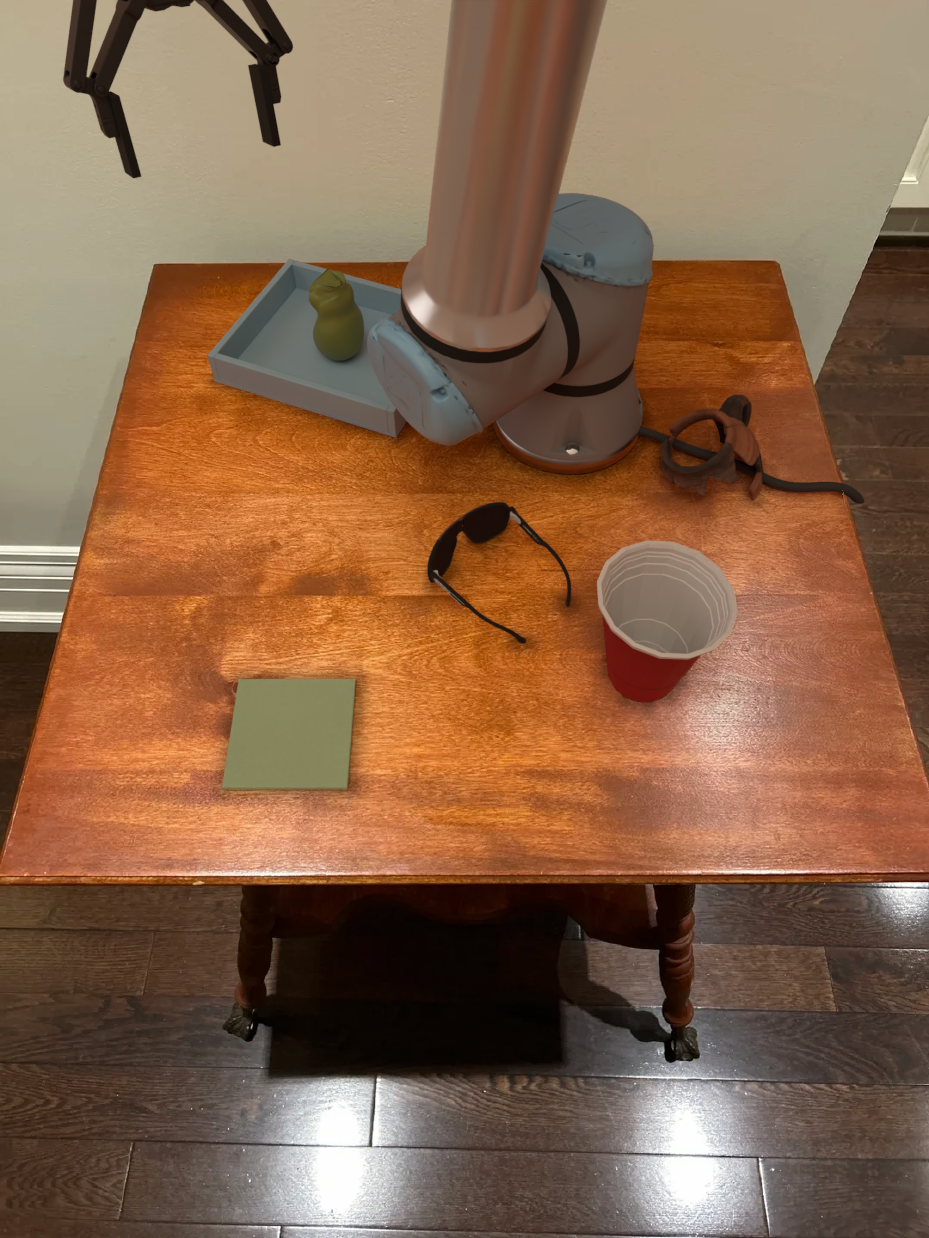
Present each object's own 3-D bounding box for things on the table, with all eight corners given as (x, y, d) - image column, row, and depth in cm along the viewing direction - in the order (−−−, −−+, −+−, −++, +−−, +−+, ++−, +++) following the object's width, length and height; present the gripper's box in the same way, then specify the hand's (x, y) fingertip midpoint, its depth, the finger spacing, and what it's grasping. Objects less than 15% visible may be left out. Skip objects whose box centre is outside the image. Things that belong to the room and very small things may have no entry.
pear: (345, 377, 102) (334, 299, 94) (306, 359, 103) (291, 281, 95) (375, 347, 104) (367, 269, 96) (337, 330, 106) (325, 252, 98)
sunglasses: (495, 517, 91) (501, 486, 87) (584, 599, 88) (595, 572, 83) (413, 578, 87) (415, 549, 83) (503, 667, 84) (510, 642, 79)
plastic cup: (703, 741, 78) (737, 666, 68) (572, 718, 79) (587, 641, 69) (711, 632, 84) (743, 548, 74) (589, 612, 85) (605, 527, 75)
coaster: (356, 681, 82) (355, 678, 81) (348, 790, 76) (347, 787, 76) (239, 681, 82) (238, 678, 81) (223, 790, 76) (221, 787, 76)
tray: (463, 332, 106) (463, 306, 103) (396, 438, 97) (393, 412, 94) (293, 285, 111) (288, 258, 108) (214, 381, 102) (206, 355, 99)
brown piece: (756, 528, 91) (729, 481, 85) (667, 522, 97) (635, 477, 91) (790, 424, 94) (767, 371, 88) (702, 424, 100) (674, 374, 94)
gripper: (265, -145, 82) (309, 125, 96) (-36, -114, 73) (60, 180, 87) (300, -147, 77) (342, 138, 91) (-18, -114, 68) (81, 198, 82)
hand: (204, 159), depth 89 cm, fingers open, 13 cm apart
